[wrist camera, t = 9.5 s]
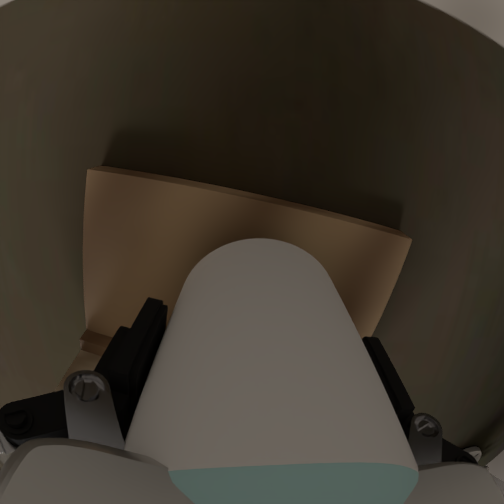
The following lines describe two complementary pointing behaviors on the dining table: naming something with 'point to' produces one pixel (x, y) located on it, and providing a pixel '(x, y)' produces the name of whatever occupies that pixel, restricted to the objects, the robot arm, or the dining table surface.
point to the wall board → (211, 247)
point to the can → (269, 389)
